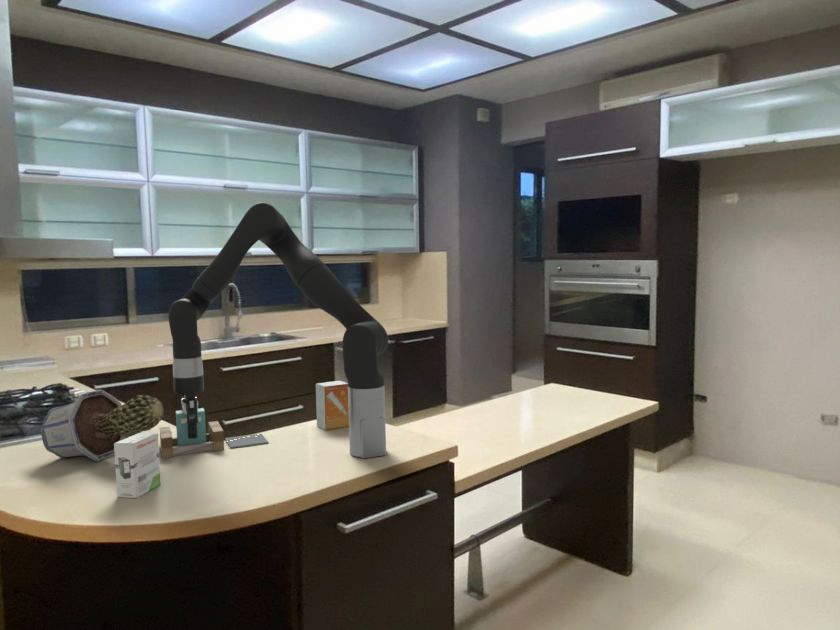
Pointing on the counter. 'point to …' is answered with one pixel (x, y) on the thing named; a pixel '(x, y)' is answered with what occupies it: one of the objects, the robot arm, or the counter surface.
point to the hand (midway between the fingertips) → (191, 434)
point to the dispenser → (213, 436)
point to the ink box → (137, 464)
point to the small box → (332, 405)
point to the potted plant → (97, 424)
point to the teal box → (183, 428)
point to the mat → (246, 440)
